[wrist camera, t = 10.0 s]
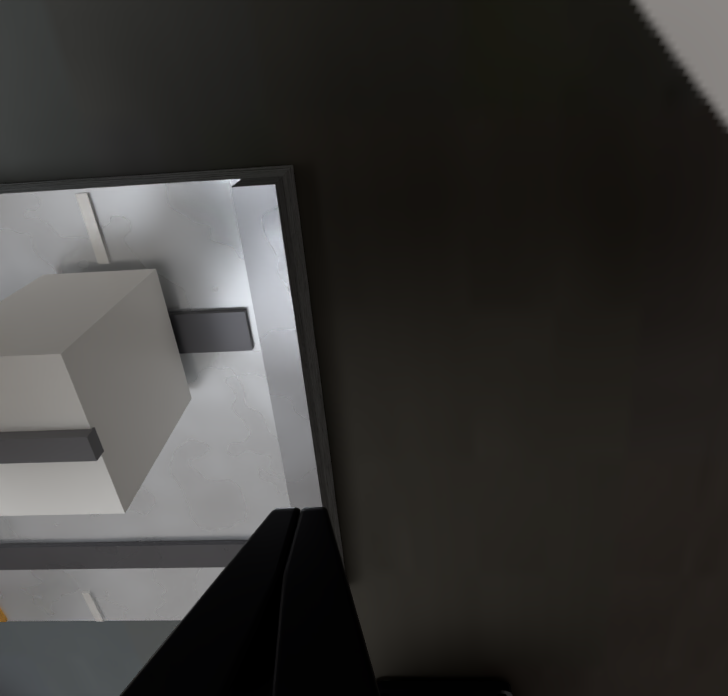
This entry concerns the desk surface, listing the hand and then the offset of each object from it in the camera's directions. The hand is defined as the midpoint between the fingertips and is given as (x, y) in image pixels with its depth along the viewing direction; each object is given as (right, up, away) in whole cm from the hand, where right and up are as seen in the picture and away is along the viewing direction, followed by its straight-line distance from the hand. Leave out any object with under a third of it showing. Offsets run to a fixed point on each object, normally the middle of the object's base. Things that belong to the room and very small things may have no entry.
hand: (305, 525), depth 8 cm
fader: (-6, +3, +6) cm, 9 cm away
